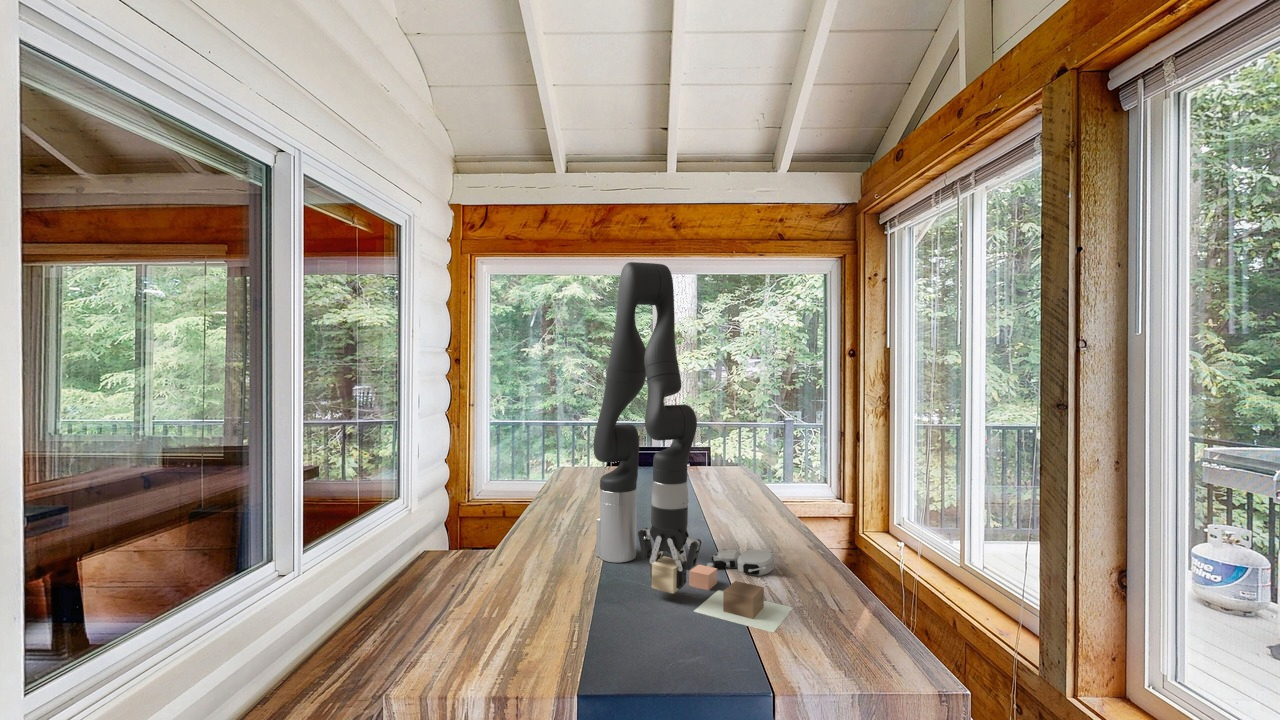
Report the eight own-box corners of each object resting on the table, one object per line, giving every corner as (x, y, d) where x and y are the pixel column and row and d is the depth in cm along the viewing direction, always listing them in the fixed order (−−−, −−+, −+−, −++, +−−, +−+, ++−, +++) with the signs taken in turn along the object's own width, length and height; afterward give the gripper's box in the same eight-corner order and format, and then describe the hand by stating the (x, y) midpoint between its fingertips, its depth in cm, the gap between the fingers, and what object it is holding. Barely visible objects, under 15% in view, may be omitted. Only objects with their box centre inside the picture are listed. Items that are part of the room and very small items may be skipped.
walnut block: (723, 611, 112) (723, 591, 112) (735, 600, 117) (735, 580, 117) (752, 619, 109) (753, 598, 109) (763, 607, 114) (763, 587, 114)
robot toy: (704, 579, 134) (769, 585, 128) (703, 559, 134) (768, 564, 128) (719, 561, 145) (779, 566, 139) (718, 543, 145) (778, 547, 139)
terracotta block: (689, 591, 124) (689, 570, 124) (698, 584, 128) (698, 564, 128) (708, 596, 122) (708, 575, 122) (717, 589, 126) (717, 568, 126)
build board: (693, 617, 112) (693, 611, 112) (718, 595, 122) (718, 589, 122) (773, 639, 104) (773, 632, 104) (793, 613, 114) (793, 607, 114)
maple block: (651, 587, 118) (651, 563, 118) (663, 579, 122) (663, 556, 122) (673, 593, 115) (673, 569, 115) (684, 584, 120) (684, 561, 119)
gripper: (630, 500, 119) (629, 582, 119) (692, 512, 111) (691, 599, 112) (648, 493, 125) (647, 570, 126) (709, 503, 118) (707, 586, 118)
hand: (668, 583), depth 119 cm, fingers closed on maple block, 5 cm apart
